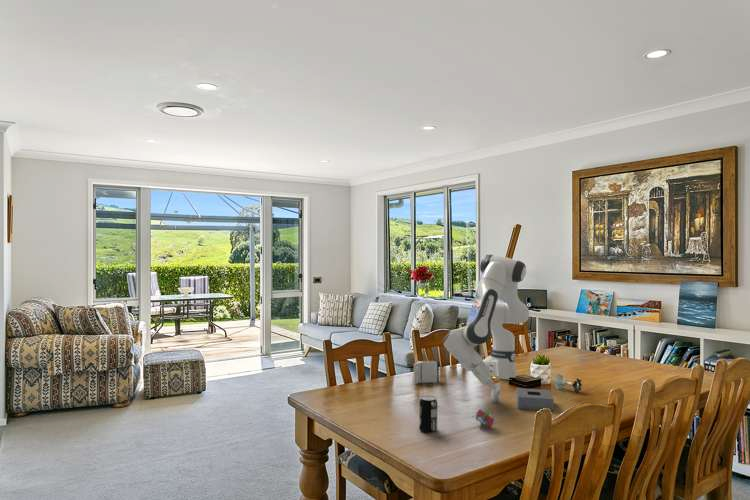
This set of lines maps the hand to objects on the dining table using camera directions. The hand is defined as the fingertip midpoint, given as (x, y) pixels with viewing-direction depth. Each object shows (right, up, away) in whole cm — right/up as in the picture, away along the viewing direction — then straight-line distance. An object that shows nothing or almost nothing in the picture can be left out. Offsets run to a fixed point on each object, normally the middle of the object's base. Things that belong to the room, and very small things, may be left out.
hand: (495, 385), depth 220 cm
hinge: (-27, -7, +33) cm, 44 cm away
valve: (+39, -8, +21) cm, 45 cm away
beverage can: (-33, -7, -35) cm, 49 cm away
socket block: (+16, -7, -3) cm, 18 cm away
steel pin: (0, -7, 0) cm, 7 cm away
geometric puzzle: (-11, -7, -32) cm, 35 cm away
